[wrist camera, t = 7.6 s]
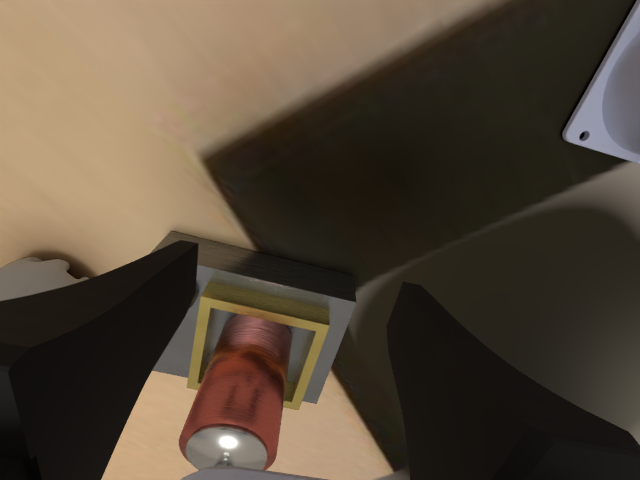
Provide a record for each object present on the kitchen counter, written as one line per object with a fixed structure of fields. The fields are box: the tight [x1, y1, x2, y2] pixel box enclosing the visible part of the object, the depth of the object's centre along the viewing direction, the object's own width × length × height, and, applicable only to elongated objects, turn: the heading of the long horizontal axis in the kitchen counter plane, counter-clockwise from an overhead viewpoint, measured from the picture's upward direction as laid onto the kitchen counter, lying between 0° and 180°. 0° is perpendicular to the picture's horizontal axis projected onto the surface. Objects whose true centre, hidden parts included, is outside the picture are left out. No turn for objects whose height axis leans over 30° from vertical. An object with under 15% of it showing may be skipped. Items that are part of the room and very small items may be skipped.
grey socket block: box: [150, 231, 356, 410], centre depth 23 cm, size 14×9×4 cm, turn 75°
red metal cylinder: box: [179, 314, 292, 470], centre depth 19 cm, size 4×4×8 cm
